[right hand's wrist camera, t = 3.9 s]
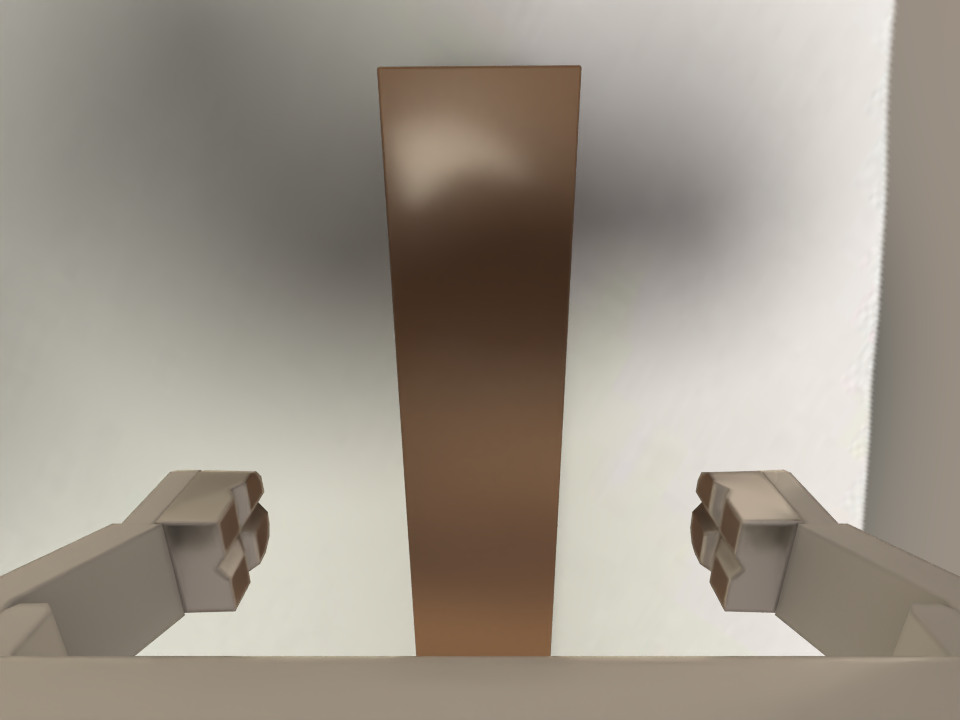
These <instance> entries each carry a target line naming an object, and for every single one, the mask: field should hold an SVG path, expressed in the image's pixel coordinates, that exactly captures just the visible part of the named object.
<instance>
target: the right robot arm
mask: <svg viewBox="0 0 960 720" xmlns="http://www.w3.org/2000/svg"><path fill="white" fill-rule="evenodd" d="M263 493H264V488H263V483H262V478H261V476H260V475H259V474H258V473H257V472H256V471H209V470H204V471H201V470H177V471H173V472H170V473H169V474H168V475H167V476H166V477H165V478H164V479H163V480H162V481H161V482H160V483H159V484H158V485H157V486H156V488H155V489H154V490H153V491H152V492H151V493H150V494H149V495H148V496H147V497H146V498H145V499H144V500H143V501H142V502H141V504H140V505H139V506H138V507H137V508H136V509H135V510H134V511H133V512H132V513H131V514H130V515H129V516H128V517H127V518H126V519H125V521H124V522H123V523H122V524H111V525H109V526H107V527H104V528H102V529H100V530H98V531H96V532H94V533H92V534H90V535H87V536H85V537H83V538H81V539H79V540H77V541H75V542H73V543H70V544H68V545H66V546H64V547H62V548H60V549H58V550H56V551H53V552H51V553H49V554H47V555H45V556H43V557H41V558H39V559H36V560H34V561H32V562H30V563H28V564H26V565H24V566H21V567H19V568H17V569H15V570H13V571H11V572H9V573H7V574H4V575H2V576H0V720H960V577H959V576H957V575H955V574H953V573H951V572H949V571H947V570H945V569H942V568H940V567H938V566H936V565H934V564H932V563H930V562H928V561H926V560H923V559H921V558H919V557H917V556H915V555H913V554H911V553H908V552H906V551H904V550H902V549H900V548H898V547H896V546H894V545H892V544H889V543H887V542H885V541H883V540H881V539H879V538H877V537H875V536H872V535H870V534H868V533H866V532H864V531H862V530H860V529H858V528H856V527H853V526H851V525H849V524H838V523H837V522H836V520H835V519H834V518H833V517H832V516H831V515H830V514H829V513H828V512H827V511H826V510H825V509H824V508H823V507H822V506H821V505H820V503H819V502H818V501H817V500H816V499H815V498H814V497H813V496H812V495H811V494H810V493H809V492H808V491H807V490H806V489H805V487H804V486H803V485H802V484H801V483H800V482H799V481H798V480H797V479H796V478H795V477H794V476H793V475H792V474H791V473H790V472H788V471H785V470H766V471H739V472H701V475H700V477H699V479H698V482H697V488H696V493H697V495H698V496H699V498H700V500H701V501H702V503H701V504H700V505H699V506H698V507H697V508H696V509H695V510H694V511H693V512H692V519H691V526H690V529H691V541H692V545H693V549H694V552H695V555H696V557H697V559H698V561H699V563H700V564H701V565H703V566H704V567H705V568H707V569H708V570H710V571H711V576H710V584H711V586H712V588H713V590H714V592H715V594H716V596H717V597H718V599H719V601H720V603H721V605H722V607H723V609H724V611H733V612H769V613H775V615H776V616H777V617H778V618H779V619H781V620H782V621H783V622H784V623H786V624H787V625H788V626H789V627H791V628H792V629H793V630H794V631H796V632H797V633H798V634H799V635H800V636H802V637H803V638H804V639H805V640H807V641H808V642H809V643H810V644H812V645H813V646H814V647H815V648H816V649H818V650H819V651H820V652H821V653H823V654H824V655H825V656H135V655H136V654H138V653H139V652H140V651H141V650H142V649H144V648H145V647H146V646H147V645H149V644H150V643H151V642H152V641H154V640H155V639H156V638H157V637H159V636H160V635H161V634H162V633H163V632H165V631H166V630H167V629H168V628H170V627H171V626H172V625H173V624H175V623H176V622H177V621H178V620H180V619H181V618H182V617H183V616H184V615H185V614H184V613H191V612H226V611H236V609H237V607H238V605H239V603H240V601H241V599H242V597H243V596H244V594H245V592H246V590H247V588H248V586H249V584H250V576H249V571H250V570H252V569H253V568H255V567H256V566H257V565H259V564H260V563H261V561H262V559H263V557H264V555H265V553H266V549H267V544H268V540H269V518H268V512H267V511H266V510H265V509H264V508H263V507H262V506H261V505H260V504H259V503H258V501H259V500H260V498H261V496H262V495H263Z"/></svg>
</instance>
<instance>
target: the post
mask: <svg viewBox="0 0 960 720" xmlns="http://www.w3.org/2000/svg"><path fill="white" fill-rule="evenodd" d="M377 75H378V90H379V105H380V120H381V135H382V150H383V165H384V180H385V195H386V210H387V225H388V240H389V255H390V270H391V285H392V300H393V314H394V329H395V344H396V359H397V374H398V389H399V404H400V419H401V434H402V449H403V464H404V479H405V494H406V509H407V524H408V539H409V554H410V569H411V584H412V599H413V614H414V629H415V643H416V656H551V636H552V617H553V598H554V579H555V560H556V541H557V522H558V503H559V484H560V465H561V446H562V427H563V408H564V389H565V370H566V351H567V332H568V313H569V294H570V275H571V256H572V237H573V218H574V199H575V180H576V161H577V142H578V123H579V104H580V85H581V66H579V65H553V66H421V67H378V68H377Z"/></svg>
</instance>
